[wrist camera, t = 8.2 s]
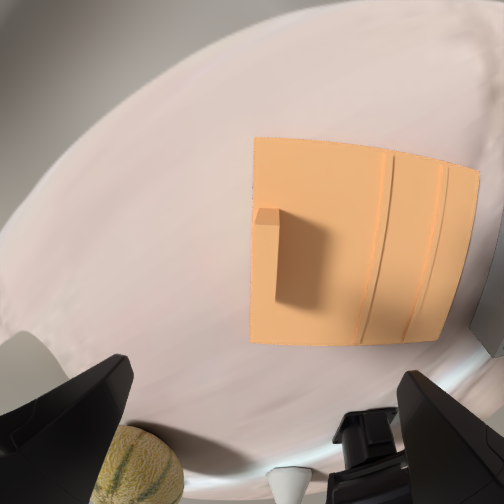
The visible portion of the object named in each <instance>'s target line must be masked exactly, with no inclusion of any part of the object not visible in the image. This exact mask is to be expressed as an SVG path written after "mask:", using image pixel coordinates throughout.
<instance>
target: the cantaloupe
mask: <svg viewBox="0 0 504 504" xmlns="http://www.w3.org/2000/svg"><path fill="white" fill-rule="evenodd" d="M183 489H184V475H183V469H182V466H181V464H180V461H179V459H178V457H177V456H176V454H175V453H174V452H173V451H172V450H171V448H170V447H168V446H167V445H166V444H165V443H164V442H163V441H162V440H160V439H159V438H158V437H156V436H155V435H153V434H151V433H149V432H146V431H144V430H142V429H140V428H136V427H132V426H121V425H118V428H117V430H116V432H115V435H114V437H113V440H112V442H111V445H110V447H109V450H108V452H107V455H106V457H105V460H104V463H103V465H102V468H101V470H100V473H99V476H98V479H97V481H96V484H95V487H94V490H93V492H92V495H91V498H90V500H91V501H92V502H93V503H94V504H178V503H179V501H180V499H181V497H182V494H183Z"/></svg>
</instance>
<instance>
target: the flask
mask: <svg viewBox="0 0 504 504" xmlns="http://www.w3.org/2000/svg"><path fill="white" fill-rule="evenodd" d="M266 476H267V479H268V482H269V485H270V487H271V490H272V493H273V496H274V499H275V502H276V504H300V503H301V501H302V498H303V496H304V494H305V491H306V489H307V487H308V485H309V482H310V480H311V477H312V472H311V469H305V468H298V467H288V468H274V469H273V470H271V471H270V472H268V473H267V474H266Z"/></svg>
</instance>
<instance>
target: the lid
mask: <svg viewBox="0 0 504 504" xmlns="http://www.w3.org/2000/svg"><path fill="white" fill-rule="evenodd" d="M479 176H480V171H477V170H473V169H470V168H466V167H463V166H459V165H456V164H452V163H448V162H444V161H440V160H436V159H432V158H427V157H423V156H418V155H413V154H409V153H403V152H398V151H393V150H387V149H381V148H375V147H368V146H361V145H353V144H345V143H337V142H327V141H316V140H304V139H288V138H263V137H254V171H253V216H252V262H251V308H250V343H260V344H278V345H307V346H354V345H382V344H399V343H413V342H424V341H434V340H438V338H439V335H440V333H441V331H442V328H443V326H444V323H445V321H446V318H447V315H448V313H449V310H450V307H451V304H452V301H453V299H454V296H455V292H456V289H457V286H458V283H459V280H460V276H461V273H462V269H463V266H464V262H465V258H466V254H467V250H468V245H469V241H470V236H471V231H472V226H473V221H474V215H475V209H476V202H477V195H478V186H479Z"/></svg>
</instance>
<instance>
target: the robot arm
mask: <svg viewBox="0 0 504 504" xmlns="http://www.w3.org/2000/svg"><path fill="white" fill-rule="evenodd" d="M133 378H134V373H133V370H132V367H131V364H130V361H129V358H128V357H127V356H125V355H121V354H114V355H112V356H111V357H109V358H107V359H106V360H104V361H102V362H100V363H99V364H97V365H95V366H93V367H92V368H90V369H88V370H86V371H85V372H83V373H81V374H79V375H78V376H76V377H74V378H72V379H71V380H69V381H67V382H65V383H63V384H62V385H60V386H58V387H56V388H55V389H53V390H51V391H49V392H48V393H46V394H44V395H42V396H40V397H38V398H37V399H35V400H33V401H31V402H29V403H27V404H25V405H23V406H21V407H19V408H17V409H15V410H13V411H11V412H8V413H6V414H3V415H1V416H0V504H89V501H90V498H91V495H92V492H93V490H94V487H95V484H96V481H97V479H98V476H99V473H100V470H101V468H102V465H103V463H104V460H105V457H106V455H107V452H108V450H109V447H110V445H111V442H112V440H113V437H114V435H115V432H116V430H117V428H118V425H119V423H120V420H121V418H122V415H123V412H124V409H125V405H126V402H127V399H128V395H129V392H130V389H131V385H132V382H133ZM397 400H398V408H399V416H400V425H401V432H402V437H403V442H404V446H405V449H404V450H402V451H400V452H397V451H396V447H395V443H394V438H393V434H392V431H391V427H390V423H391V422H392V420H393V419H394V417H395V416H396V414H397V412H398V411H397V408H392V409H384V410H376V411H367V412H356V413H347V414H345V415H344V417H343V419H342V421H341V423H340V425H339V427H338V429H337V431H336V434H335V436H334V438H333V440H332V443H333V444H342V447H343V454H344V462H345V470H344V471H340V472H337V473H335V472H334V473H330V474H329V479H328V487H327V500H326V504H504V437H502V436H501V435H499V434H498V433H497V432H495V431H494V430H493V429H492V428H490V427H489V426H488V425H486V424H485V423H484V422H483V421H482V420H480V419H479V418H478V417H476V416H475V415H474V414H473V413H471V412H470V411H469V410H468V409H466V408H465V407H464V406H463V405H461V404H460V403H459V402H458V401H456V400H455V399H454V398H452V397H451V396H450V395H449V394H447V393H446V392H445V391H444V390H442V389H441V388H440V387H438V386H437V385H436V384H435V383H433V382H432V381H431V380H429V379H428V378H427V377H426V376H424V375H423V374H422V373H421V372H419V371H418V370H412V371H407V372H406V373H405V374H404V376H403V378H402V380H401V382H400V384H399V386H398V388H397ZM405 466H407V468H404V469H401V468H403V467H405Z"/></svg>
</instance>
